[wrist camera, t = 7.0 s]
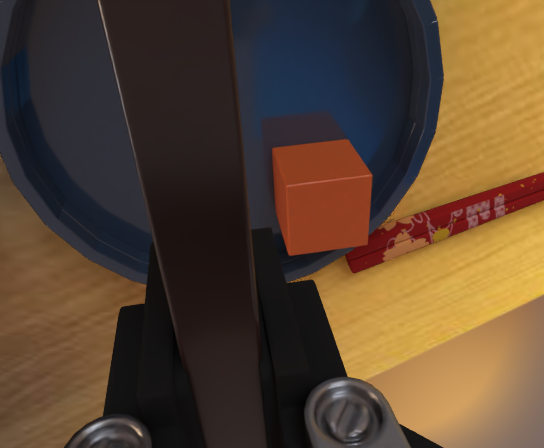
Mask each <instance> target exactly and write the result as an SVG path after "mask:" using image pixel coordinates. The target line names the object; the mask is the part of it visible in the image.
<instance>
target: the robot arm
mask: <svg viewBox="0 0 544 448" xmlns="http://www.w3.org/2000/svg"><path fill="white" fill-rule="evenodd" d="M251 235H252V245H253V256H254V267H255V278H256V289H257V300H258V310H259V321H260V332H261V343H262V354H263V358H262V360H261V361H260V362H259V368H260V378H261V388H262V398H263V407H264V417H265V427H266V437H267V447H268V448H443V447H441V446H439V445H438V444H436V443H434V442H432V441H430V440H428V439H426V438H425V437H423V436H421V435H419V434H417V433H416V432H414V431H412V430H410V429H408V428H406V427H404V426H403V425H401V424H399V423H398V421H397V419H396V417H395V415H394V413H393V411H392V409H391V407H390V405H389V403H388V401H387V400H386V399H385V397H384V396H383V394H382V393H381V392H380V391H379V390H378V389H376V388H375V387H374V386H373V385H371V384H369V383H367V382H365V381H363V380H360V379H356V378H351V377H348V376H347V374H346V371H345V368H344V365H343V362H342V359H341V356H340V353H339V350H338V348H337V345H336V342H335V339H334V336H333V333H332V330H331V327H330V325H329V322H328V319H327V316H326V313H325V310H324V307H323V304H322V301H321V299H320V296H319V293H318V290H317V287H316V285H315V282H314V281H313V280H306V281H299V282H292V283H286V280H285V276H284V273H283V269H282V265H281V262H280V258H279V254H278V250H277V247H276V243H275V239H274V236H273V232H272V229H271V227H266V228H259V229H251ZM64 448H205V446H204V441H203V437H202V433H201V428H200V424H199V420H198V416H197V411H196V407H195V403H194V398H193V394H192V390H191V385H190V381H189V377H188V373H186V372H185V371H184V369H183V365H182V360H181V356H180V352H179V348H178V343H177V339H176V335H175V331H174V326H173V322H172V318H171V314H170V310H169V305H168V301H167V297H166V293H165V288H164V284H163V280H162V276H161V271H160V267H159V263H158V259H157V254H156V250H155V246H154V242H152V243H151V245H150V255H149V265H148V276H147V287H146V297H145V304H138V305H131V306H124V307H121V309H120V312H119V316H118V322H117V329H116V335H115V341H114V348H113V354H112V361H111V367H110V373H109V380H108V386H107V393H106V399H105V406H104V412H103V417H99V418H98V419H96V420H94V421H92V422H90V423H88V424H86V425H85V426H84V427H82V428H81V429H80V430H79V431H77V432H76V433H75V434H74V435H73V436H72V438H71V439H70V440H69V441H68V443H67V444H66V445H65V447H64Z"/></svg>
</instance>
